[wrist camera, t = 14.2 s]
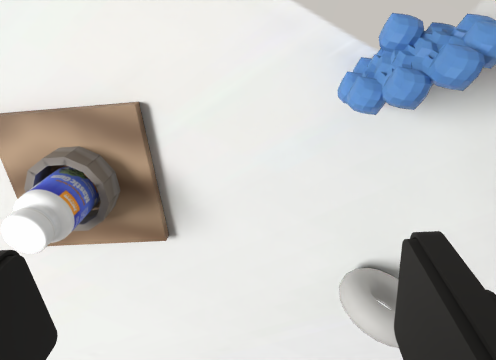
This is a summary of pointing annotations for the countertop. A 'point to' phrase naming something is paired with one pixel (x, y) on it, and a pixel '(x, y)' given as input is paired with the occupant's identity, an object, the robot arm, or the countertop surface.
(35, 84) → the countertop surface
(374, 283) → the donut
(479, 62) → the grapes
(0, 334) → the robot arm
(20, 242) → the pill bottle
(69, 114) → the base
